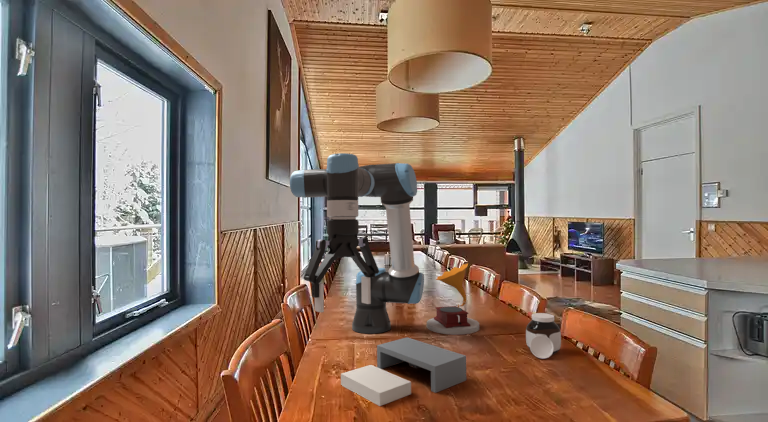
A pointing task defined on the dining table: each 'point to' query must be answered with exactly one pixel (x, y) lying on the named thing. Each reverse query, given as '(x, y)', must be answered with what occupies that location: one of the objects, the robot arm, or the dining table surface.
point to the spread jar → (543, 335)
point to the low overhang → (425, 361)
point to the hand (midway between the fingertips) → (343, 307)
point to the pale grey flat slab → (376, 384)
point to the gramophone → (453, 308)
